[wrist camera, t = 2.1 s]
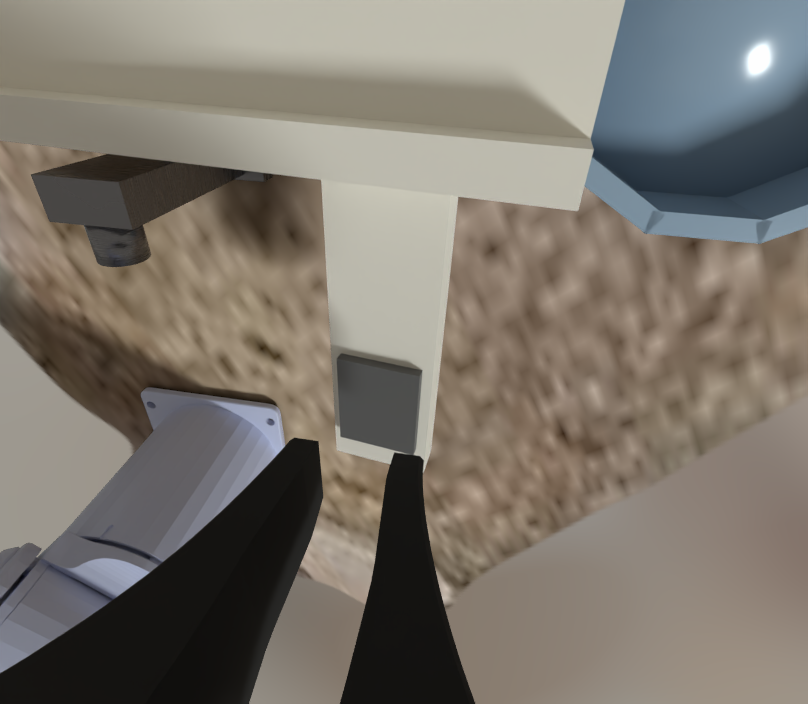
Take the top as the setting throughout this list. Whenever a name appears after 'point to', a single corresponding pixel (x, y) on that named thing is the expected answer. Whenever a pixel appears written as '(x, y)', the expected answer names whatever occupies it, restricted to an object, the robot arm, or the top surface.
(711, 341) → the top surface
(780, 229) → the blue bowl
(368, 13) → the lever
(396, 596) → the robot arm
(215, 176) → the stand
